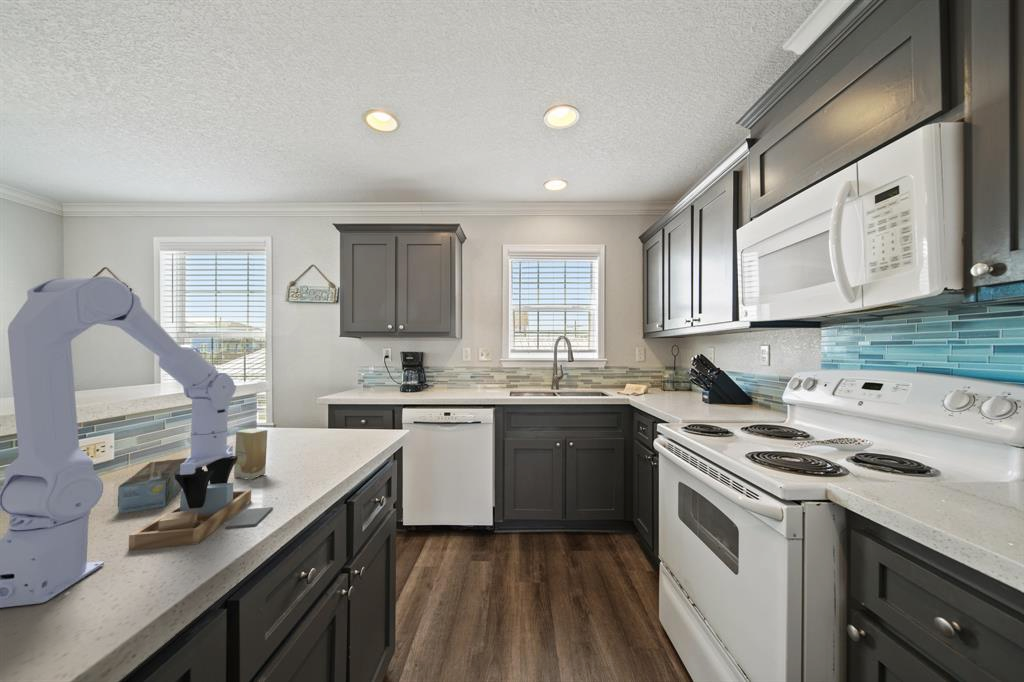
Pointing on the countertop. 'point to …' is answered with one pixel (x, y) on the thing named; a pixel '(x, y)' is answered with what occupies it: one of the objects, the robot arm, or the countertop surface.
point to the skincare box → (250, 453)
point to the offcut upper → (178, 520)
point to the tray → (155, 538)
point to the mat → (249, 517)
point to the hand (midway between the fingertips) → (207, 499)
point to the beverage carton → (150, 486)
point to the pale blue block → (211, 499)
